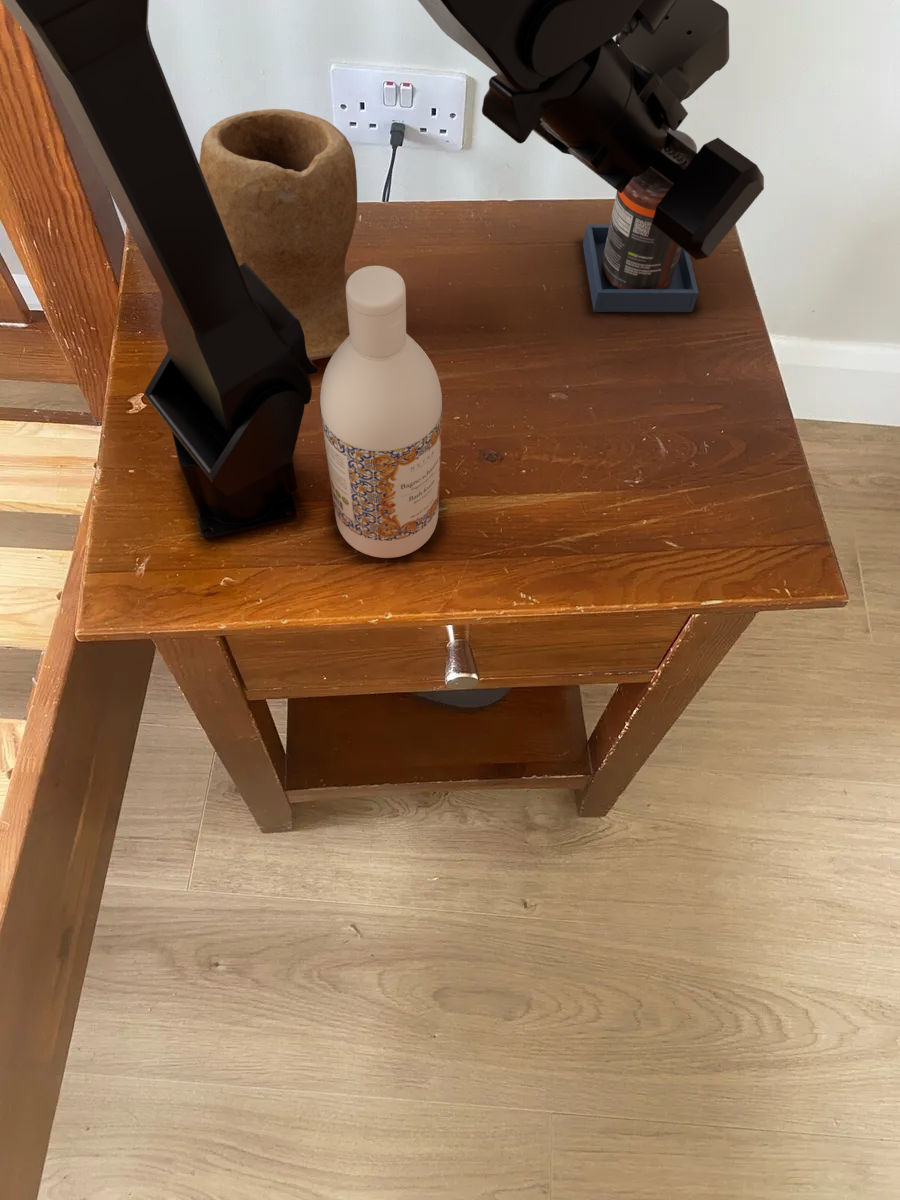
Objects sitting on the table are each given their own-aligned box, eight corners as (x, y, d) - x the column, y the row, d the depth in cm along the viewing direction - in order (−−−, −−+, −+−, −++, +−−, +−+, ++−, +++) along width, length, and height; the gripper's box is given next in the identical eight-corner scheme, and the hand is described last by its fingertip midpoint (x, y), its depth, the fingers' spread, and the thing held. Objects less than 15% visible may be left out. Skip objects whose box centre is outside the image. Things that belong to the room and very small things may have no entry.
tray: (593, 312, 71) (597, 292, 69) (582, 244, 75) (586, 224, 73) (692, 312, 71) (698, 292, 69) (676, 245, 75) (682, 224, 73)
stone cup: (361, 260, 73) (350, 77, 60) (391, 365, 67) (385, 189, 54) (174, 285, 71) (120, 101, 57) (189, 396, 65) (132, 220, 52)
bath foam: (383, 580, 58) (368, 359, 40) (315, 516, 60) (273, 280, 43) (459, 521, 60) (476, 288, 43) (391, 461, 63) (381, 217, 45)
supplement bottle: (663, 247, 74) (702, 117, 64) (679, 297, 71) (722, 169, 61) (593, 250, 74) (621, 119, 64) (606, 301, 71) (638, 172, 61)
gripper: (802, 38, 47) (848, 156, 60) (571, -106, 54) (658, 28, 67) (660, 222, 51) (732, 294, 64) (463, 67, 58) (564, 161, 71)
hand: (671, 189), depth 67 cm, fingers open, 9 cm apart
